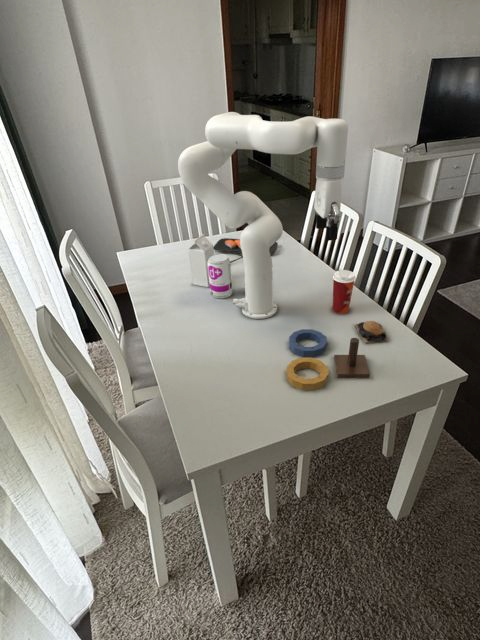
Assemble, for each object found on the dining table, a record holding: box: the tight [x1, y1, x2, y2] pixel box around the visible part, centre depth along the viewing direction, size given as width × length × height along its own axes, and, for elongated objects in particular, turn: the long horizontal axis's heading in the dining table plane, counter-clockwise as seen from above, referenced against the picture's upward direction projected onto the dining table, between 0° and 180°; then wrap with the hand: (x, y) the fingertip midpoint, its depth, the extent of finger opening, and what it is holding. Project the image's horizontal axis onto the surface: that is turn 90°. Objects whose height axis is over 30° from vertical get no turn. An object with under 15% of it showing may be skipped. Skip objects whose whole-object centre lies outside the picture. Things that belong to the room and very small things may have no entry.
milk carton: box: [187, 233, 215, 288], centre depth 160 cm, size 7×7×19 cm
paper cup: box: [332, 269, 356, 315], centre depth 142 cm, size 8×8×14 cm
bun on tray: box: [355, 320, 389, 344], centre depth 132 cm, size 11×8×4 cm
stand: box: [333, 337, 371, 379], centre depth 116 cm, size 9×9×10 cm
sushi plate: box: [213, 237, 279, 264], centre depth 185 cm, size 29×30×4 cm
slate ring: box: [288, 328, 328, 358], centre depth 128 cm, size 12×12×2 cm
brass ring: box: [286, 357, 330, 391], centre depth 116 cm, size 12×12×2 cm
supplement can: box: [207, 253, 233, 299], centre depth 153 cm, size 8×8×15 cm
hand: (326, 233), depth 120 cm, fingers open, 9 cm apart
